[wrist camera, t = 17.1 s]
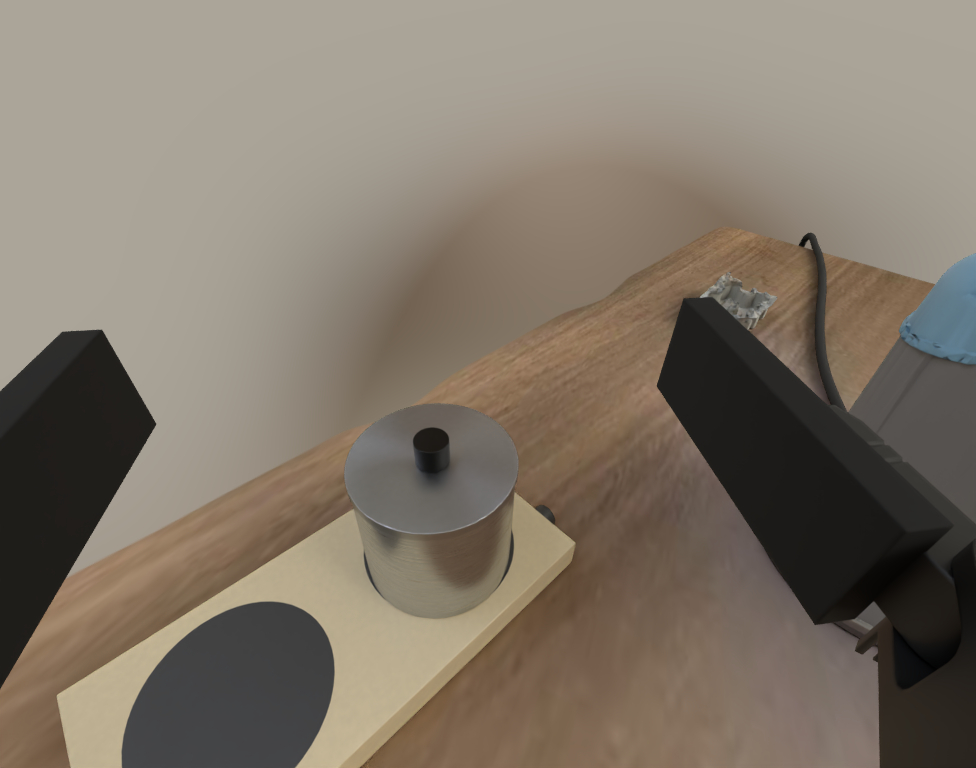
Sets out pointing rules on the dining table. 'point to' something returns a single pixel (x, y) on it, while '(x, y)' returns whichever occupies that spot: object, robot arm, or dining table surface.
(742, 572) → the dining table surface
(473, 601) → the pot
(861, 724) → the dining table surface
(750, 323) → the egg carton
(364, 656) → the hot plate
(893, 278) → the dining table surface
